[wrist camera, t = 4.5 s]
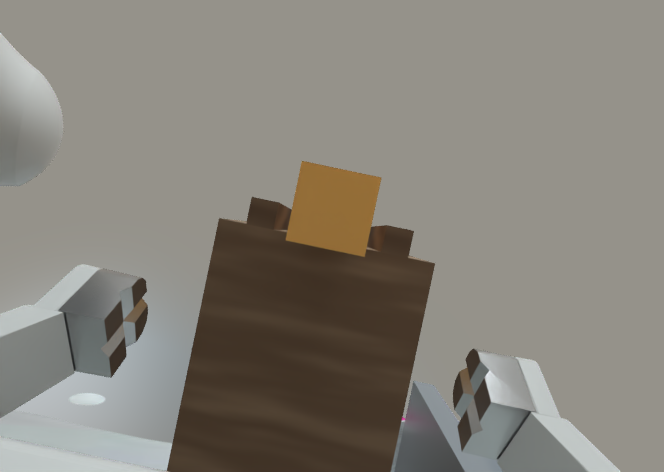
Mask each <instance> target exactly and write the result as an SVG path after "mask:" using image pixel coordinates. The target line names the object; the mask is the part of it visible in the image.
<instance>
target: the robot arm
mask: <svg viewBox="0 0 664 472" xmlns="http://www.w3.org/2000/svg"><path fill="white" fill-rule="evenodd" d="M62 136H63V117H62V111H61V107H60V104H59V101H58V99H57V96H56V94H55V93H54V90H53V89H52V87H51V85H50V84H49V82H48V81H47V80H46V78H45V77H44V76H43V74H42V73H41V72H39V71H38V70H37V69H36V68H35V67H33V66H32V65H31V64H30V63H29V62H27V60H26V59H25V58H23V57H22V56H21V55H20V54H19V53H18V52H17V51H16V49H14V47H12V45H11V44H10V43H9V42H8V41H7V40H6V38H5V37H4V36H3V35H2V34H1V32H0V186H21V185H23V184H25V183H27V182H29V181H31V180H32V179H34V178H35V177H37V176H38V175H39V174H40V173H42V172H43V171H44V170H45V169H46V168H47V167H48V166H49V165H50V163H51V162H52V161H53V159H54V157H55V156H56V154H57V152H58V150H59V147H60V144H61V141H62ZM146 292H147V289H146V281H145V280H144V279H143V278H141V277H137V276H133V275H128V274H124V273H120V272H115V271H112V270H107V269H101V268H97V267H93V266H89V265H85V264H82V265H79V266H76V267H75V268H74V269H73V270H72V271H71V272H69V273H68V274H67V275H66V276H65V277H64V278H63V279H62V280H61V281H60V282H58V283H57V284H56V285H55V286H54V287H53V288H52V289H51V290H50V291H49V292H48V293H46V294H45V295H44V296H43V297H42V298H41V299H40V300H39V301H38V302H37V303H35V304H34V305H33V306H31V305H24V306H21V307H18V308H15V309H12V310H9V311H7V312H4V313H1V314H0V418H1V417H3V416H5V415H6V414H8V413H10V412H11V411H13V410H15V409H16V408H18V407H19V406H21V405H23V404H24V403H26V402H28V401H29V400H31V399H33V398H34V397H36V396H38V395H39V394H41V393H43V392H44V391H46V390H47V389H49V388H51V387H52V386H54V385H56V384H57V383H59V382H61V381H62V380H64V379H66V378H67V377H69V376H70V375H72V374H74V371H77V372H83V373H88V374H94V375H99V376H104V377H110V378H111V377H112V376H113V375H114V373H115V372H116V370H117V369H118V367H119V366H120V365H121V363H122V362H123V360H124V359H125V357H126V347H127V346H129V345H131V344H133V343H135V342H136V341H137V340H138V338H139V337H140V335H141V334H142V332H143V329H144V327H145V324H146V321H147V314H148V307H147V304H146V303H145V302H144V300H143V299H142V297H143V296H144V294H145V293H146ZM466 363H467V368H466V369H464V370H462V371H460V372H459V374H458V376H457V378H456V380H455V385H454V390H453V403H454V410H455V411H456V412H457V414H458V415H459V416H460V417H461V420H460V422H459V424H458V426H457V427H458V433H459V439H460V444H461V450H462V452H464V453H468V454H472V455H476V456H481V457H485V458H489V459H493V460H497V463H498V465H499V466H500V468H501V469H502V471H503V472H621V471H620V470H619V469H617V467H616V466H614V465H613V464H612V463H611V462H610V461H609V460H608V459H607V458H606V457H605V456H604V455H603V454H602V453H601V452H600V451H599V450H598V449H597V448H596V447H595V446H594V445H593V444H592V443H591V442H590V441H589V440H588V439H587V438H586V437H585V436H584V435H582V434H581V433H580V432H579V431H578V430H577V429H576V428H575V427H574V426H573V425H572V424H571V423H570V422H569V421H568V420H566V419H562V418H560V416H559V413H558V410H557V408H556V406H555V403H554V401H553V399H552V396H551V394H550V391H549V389H548V386H547V384H546V382H545V379H544V377H543V375H542V372H541V370H540V367H539V365H538V364H537V363H536V362H535V361H533V360H529V359H523V358H518V357H511V356H507V355H502V354H497V353H492V352H488V351H482V350H478V349H472V350H471V351H470V352H469V354H468V356H467V358H466ZM0 472H168V471H163V470H158V469H154V468H149V467H144V466H139V465H135V464H130V463H125V462H120V461H116V460H111V459H106V458H101V457H96V456H92V455H87V454H82V453H77V452H73V451H68V450H63V449H58V448H54V447H49V446H44V445H39V444H35V443H30V442H25V441H20V440H16V439H11V438H6V437H1V436H0Z"/></svg>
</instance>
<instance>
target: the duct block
mask: <svg viewBox="0 0 664 472" xmlns="http://www.w3.org/2000/svg"><path fill="white" fill-rule="evenodd" d="M458 424H459V422H458V420H457V419H456V417H455V416H454V414H453V413H452V411H451V410H450V408H449V407H448V406H447V404H446V402H445V401H444V400H443V398H442V396H441V395H440V394H439V392H438V391H437V389H436V388H435V386H434V385H431V384H426V383H421V382H417V381H413V386H412V391H411V396H410V400H409V405H408V410H407V414H406V419H405V424H404V428H403V433H402V438H401V443H400V447H399V452H398V457H397V461H396V466H395V471H394V472H503V471H502V469H501V468H500V466H499V465H498V463H497V460H493V459H489V458H485V457H481V456H476V455H472V454H468V453H464V452H462V450H461V444H460V439H459V433H458V427H457V426H458Z"/></svg>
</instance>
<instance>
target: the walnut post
mask: <svg viewBox="0 0 664 472" xmlns="http://www.w3.org/2000/svg"><path fill="white" fill-rule="evenodd" d="M291 211H292V210H291V209H289V208H287V207H286V206H284V205H282V204H280V203H278V202H273V201H268V200H264V199H259V198H254V197H252V199H251V204H250V209H249V213H248V218H247V221H238V220H229V219H221V218H220V219H219V222H218V227H217V232H216V236H215V241H214V246H213V251H212V255H211V260H210V265H209V271H208V275H207V280H206V284H205V290H204V294H203V299H202V305H201V309H200V313H199V318H198V323H197V328H196V333H195V338H194V342H193V347H192V352H191V357H190V362H189V367H188V371H187V376H186V381H185V386H184V392H183V396H182V400H181V405H180V410H179V415H178V420H177V425H176V429H175V434H174V439H173V444H172V449H171V453H170V458H169V463H168V468H167V471H168V472H391V468H392V463H393V459H394V454H395V449H396V445H397V440H398V435H399V430H400V426H401V421H402V416H403V412H404V407H405V402H406V397H407V393H408V388H409V383H410V379H411V374H412V369H413V364H414V360H415V355H416V351H417V346H418V341H419V336H420V331H421V327H422V322H423V317H424V312H425V308H426V303H427V298H428V294H429V289H430V284H431V280H432V275H433V271H434V266H435V264H434V263H431V262H428V261H425V260H421V259H418V258H415V257H412V256H409V251H410V247H411V242H412V237H413V233H414V231H411V230H407V229H402V228H397V227H392V226H387V225H386V226H375V227H371V229H370V234H369V239H368V243H367V248H366V253H365V257H363V256H358V255H353V254H348V253H344V252H339V251H334V250H329V249H325V248H320V247H315V246H310V245H305V244H301V243H296V242H291V241H286V235H287V230H288V226H289V221H290V216H291Z"/></svg>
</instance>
